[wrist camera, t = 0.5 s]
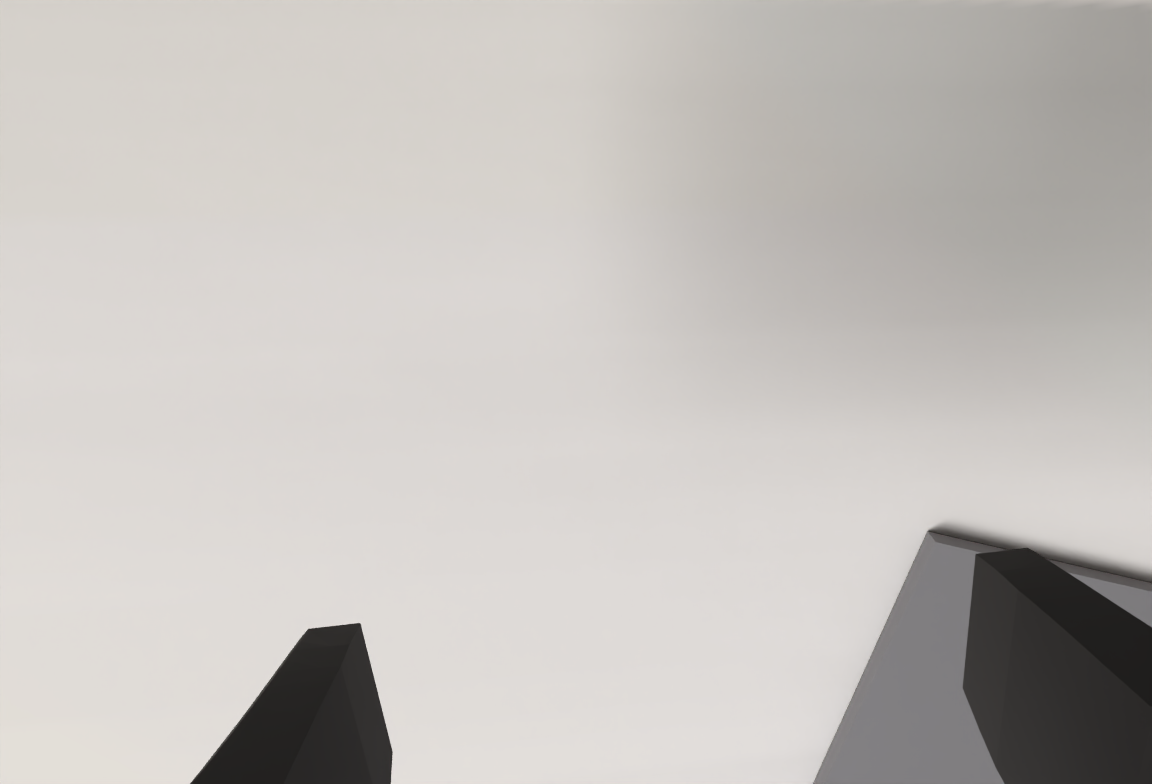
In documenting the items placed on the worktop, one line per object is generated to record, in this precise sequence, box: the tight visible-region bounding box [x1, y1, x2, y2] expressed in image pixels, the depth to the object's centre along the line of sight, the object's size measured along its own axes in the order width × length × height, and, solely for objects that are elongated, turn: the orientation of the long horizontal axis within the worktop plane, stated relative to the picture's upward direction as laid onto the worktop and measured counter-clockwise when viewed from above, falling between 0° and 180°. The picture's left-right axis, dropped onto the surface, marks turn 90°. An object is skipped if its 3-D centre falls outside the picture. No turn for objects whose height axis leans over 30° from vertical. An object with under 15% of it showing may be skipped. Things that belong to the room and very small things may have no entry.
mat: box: [813, 532, 1152, 784], centre depth 26 cm, size 12×12×1 cm
